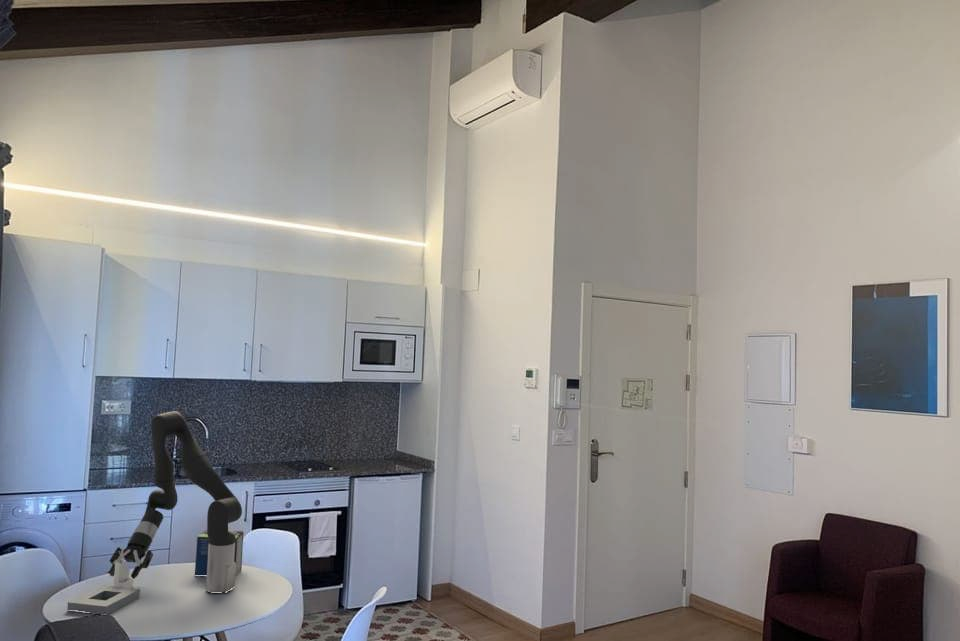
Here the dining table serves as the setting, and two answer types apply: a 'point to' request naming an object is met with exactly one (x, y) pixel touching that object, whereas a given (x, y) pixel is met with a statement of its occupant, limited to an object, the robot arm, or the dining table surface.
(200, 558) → the protein box
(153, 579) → the dining table surface
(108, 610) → the socket plate
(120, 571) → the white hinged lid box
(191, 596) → the dining table surface
